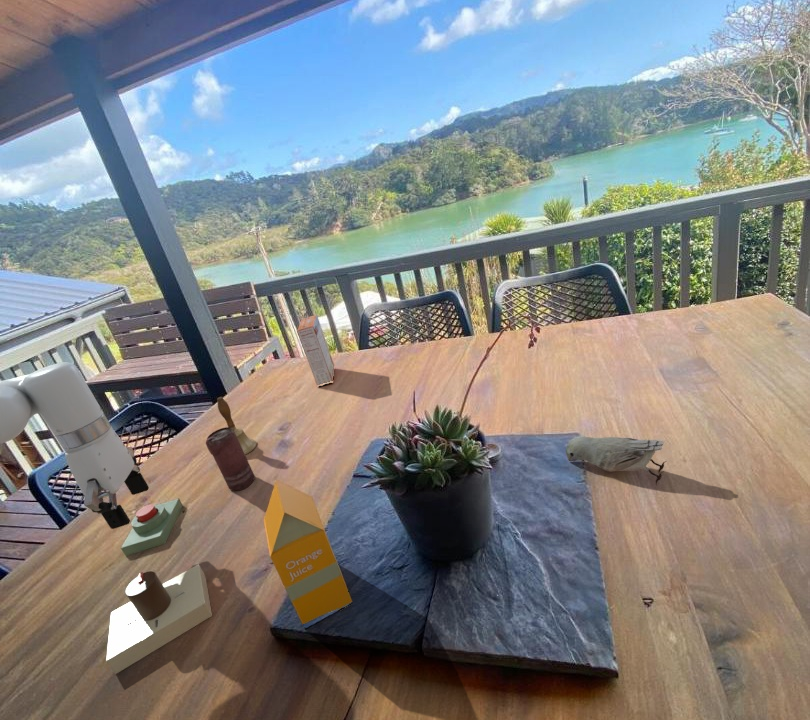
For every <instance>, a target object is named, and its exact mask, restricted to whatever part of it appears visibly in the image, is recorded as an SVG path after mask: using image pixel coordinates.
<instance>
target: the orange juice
mask: <svg viewBox="0 0 810 720" xmlns="http://www.w3.org/2000/svg"><path fill="white" fill-rule="evenodd" d="M272 488H273V489H272V490H271V491H272V492H271V495H270V498H269V501H268V502H269V503H268V505H267V508H266V511H265V514H264V517H263V524H264V530H265V535H266V542H267V547H268V553H269V558H270V559H271V562H272V564H273V566H274V568H275V570H276V572H277V574H278V576H279V579H280V580H281V583H282V584H283V587H284V589H285V591H286V594H287V596H288V599H289V600H290V602H291V603H292V605H293V607H294V610H295V612H296V614H297V616H298V619H299V620H300V622H301V624H302V625H303V624H305V623H307V622H309V621H311V620H313V619H315V618H317V617H319V616H321V615H324V614H326V613H328V612H331V611H333V610H336V609H340V608H342V607H343V606H345V605H347V604H349V603H351V602H353V600H352V596H351V595H350V593H349V592H348V591H349V589H348V586H347V584H346V581H345V578H344V576H343V573H342V570H341V568H340V567H341V566H340V565H338V564H339V561H338V560H337V557H336V555H335V551H334V550H333V548H332V544H331V541H330V538H329V536H328V533H327V530H326V528H325V526H324V525H323V524H324V523H323V520H322V518H321V515H320V513H319V511H318V508H317V505H316V502H315V499H314V497H313V496H312V495H310V494H308V493H306V492H304V491H301V490H300V489H298V488H295V487H294V486H292V485H290V484H287V483H285V482H283V481H281V480H279V479H278V478H275V482H274V485H273V487H272Z"/></svg>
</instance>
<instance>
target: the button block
mask: <svg viewBox="0 0 810 720" xmlns="http://www.w3.org/2000/svg"><path fill="white" fill-rule="evenodd" d="M153 505H154V506H155V508H156V510H157V514H156V515H155V516H154V517H153V518H151V519H149V520H148V521H145V522H142V523H141V522H139V520H138V518H137V517H136V515H135V516H134V517H133V518H132V520H131V521H130V524H131V527H132V528H131V530H130V531H129V533H128V535H127V537H126V538H125V540H124V542H123V543H122V545H121V546H120V549H121V551H122V552H123V554H124V556H130V555H133V554H136V553H140V552H143V551H146V550H149V549H152V548H156V547H160V546H162V545H165V544H166V542H167V540H168V539H169V536H170V535H171V532H172V530H173V528H174V526H175V524H176V521H177V519H178V518H179V516H180V513H181V511H182V509H183V506H184V505H183V503H182V501H181V499H180V498H178V497H177V498H176V499H172V500H168V501H166V502H163V503H156V504H153Z"/></svg>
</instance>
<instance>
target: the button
mask: <svg viewBox="0 0 810 720" xmlns="http://www.w3.org/2000/svg"><path fill="white" fill-rule="evenodd" d="M154 505H155V504H153V503H149V504H147V505H144V506H142V507H141V508H139V509H138V510H137V511H136V513H135V516H136V517H137V518H138V520H139V522H141V523H142V522H145V521H148V520H149V519H151V518H153V517H154V516H155V515H156V514H157V510H156V508H155V506H154Z"/></svg>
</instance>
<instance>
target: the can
mask: <svg viewBox="0 0 810 720" xmlns="http://www.w3.org/2000/svg"><path fill="white" fill-rule="evenodd" d="M205 445H206V447H207V450H208V451H209V453H210V454H211V455H212V457H213V459H214V461H215V463H216V465H217V467H218V470H219V471H220V473H221V475H222V477H223V479H224V481H225V484H226V485H227V488H228V489H229V491H232V492H239V491H240V492H241V491H242V490H244V489H247V488H249V486H252V484H253V483H254V481H255V474H254V471H253V469H252V467H251V465H250V463H249V461H248V458H247V456H246V455H245V454H244V452H243V449H242V447H241V445H240V443H239V441H238V438H237V436H236V434H235V432H234V430H232V429H231V428H230V427H228V426H225V427H222V428H219V429H216V430H214V431H212V432H211V433H210V434H209V435H208V436H207V437H206V440H205Z"/></svg>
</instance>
